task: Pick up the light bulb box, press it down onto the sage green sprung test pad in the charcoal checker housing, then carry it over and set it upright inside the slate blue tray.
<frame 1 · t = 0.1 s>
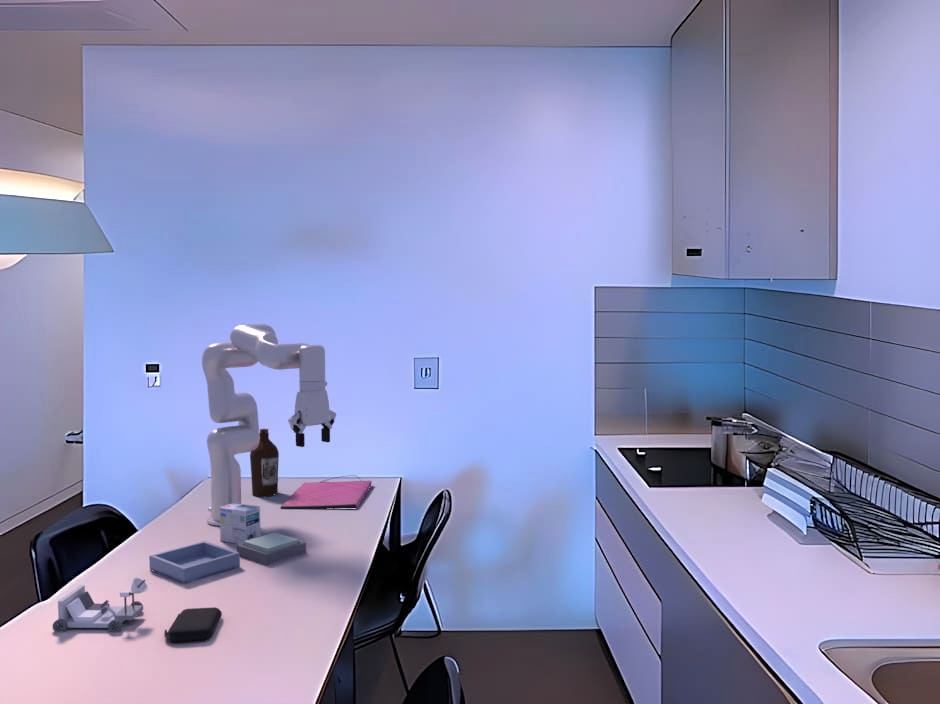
hand: (313, 444, 232), 31 cm above the table, tool pointing down, fingers open, 9 cm apart
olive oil: (265, 494, 299), on the table
carrying case or bag: (193, 632, 175), on the table
toy car: (105, 623, 180), on the table
test pad: (271, 542, 228), point 3 cm above the table, slide at 0.0 cm
laptop bag: (330, 497, 297), on the table
light bulb box: (240, 541, 241), on the table
checker housing: (271, 553, 228), on the table
tray: (195, 568, 215), on the table
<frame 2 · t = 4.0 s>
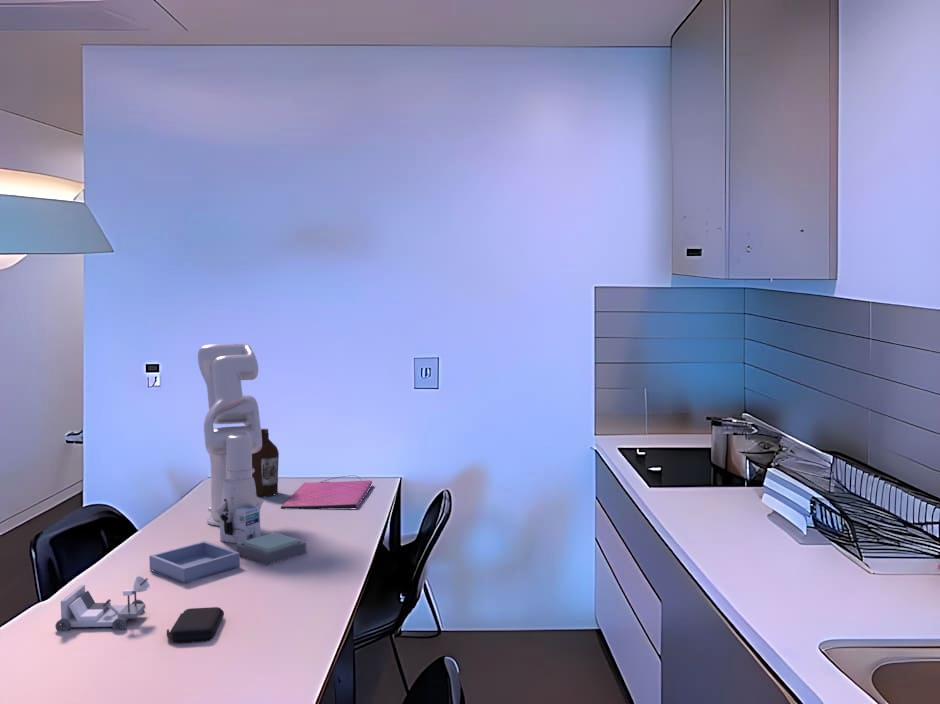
hand: (240, 530, 240), 3 cm above the table, tool pointing down, fingers closed on light bulb box, 7 cm apart
light bulb box: (240, 541, 240), on the table, touching gripper
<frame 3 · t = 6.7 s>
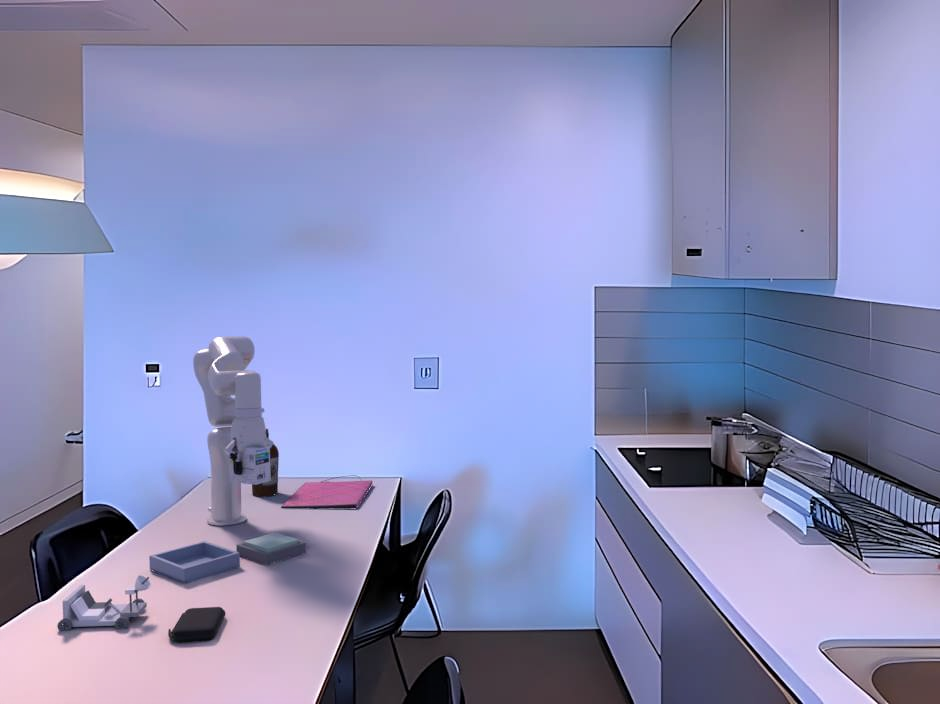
hand: (250, 471, 234), 22 cm above the table, tool pointing down, fingers closed on light bulb box, 7 cm apart
light bulb box: (250, 482, 234), point 19 cm above the table, touching gripper
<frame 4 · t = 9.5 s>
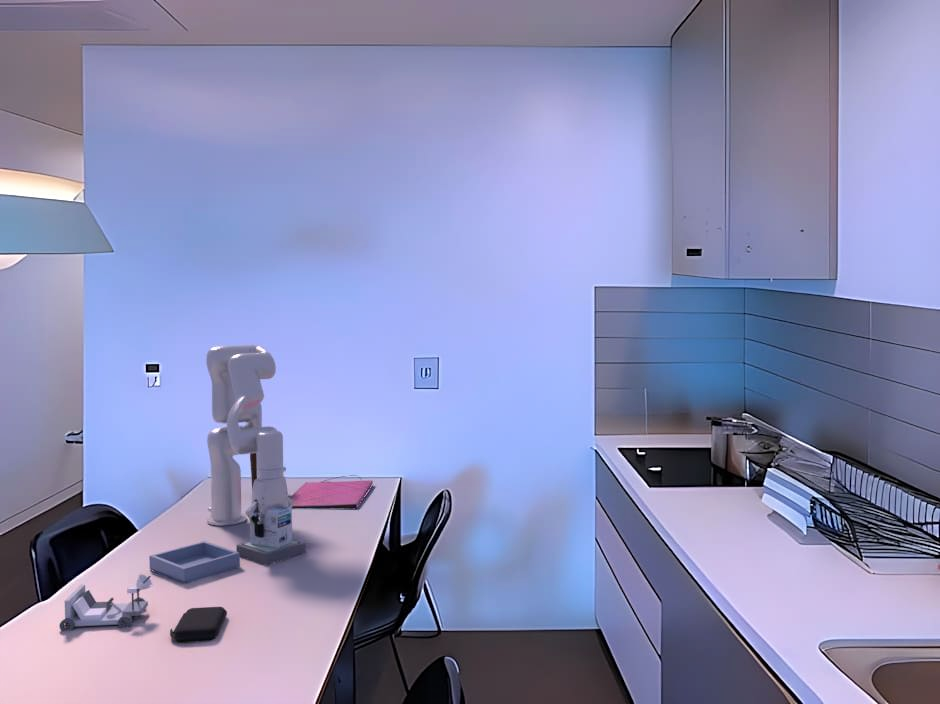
hand: (271, 533, 227), 6 cm above the table, tool pointing down, fingers closed on light bulb box, 7 cm apart
test pad: (271, 545, 228), point 2 cm above the table, slide at 0.9 cm, touching light bulb box
light bulb box: (271, 544, 227), point 3 cm above the table, touching gripper, test pad
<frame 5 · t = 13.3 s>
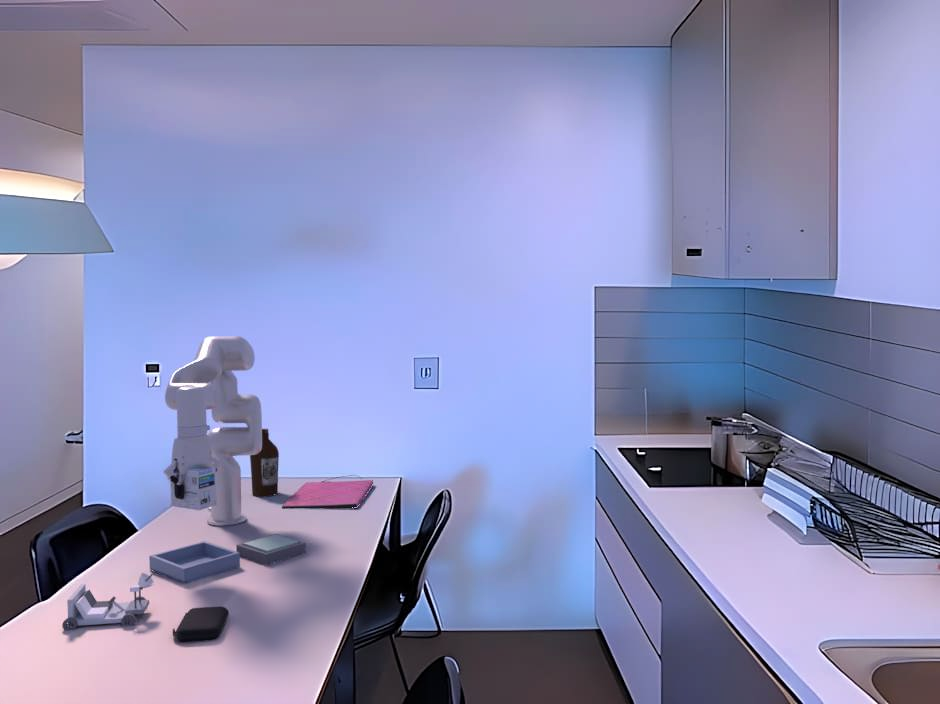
hand: (193, 495, 214), 20 cm above the table, tool pointing down, fingers closed on light bulb box, 7 cm apart
test pad: (271, 545, 228), point 3 cm above the table, slide at 0.6 cm
light bulb box: (193, 506, 214), point 17 cm above the table, touching gripper
when the fingers open (5 cm above the table, at t = 16.6 s): light bulb box drops 1 cm, resting on tray.
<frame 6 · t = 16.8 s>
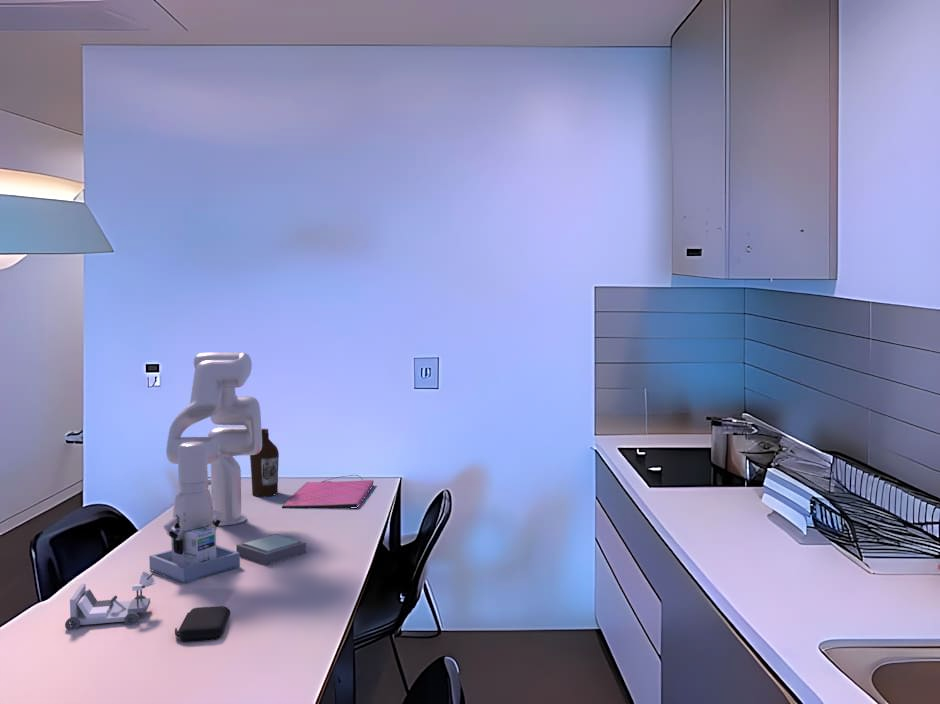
hand: (194, 549, 215), 5 cm above the table, tool pointing down, fingers open, 9 cm apart
light bulb box: (194, 567, 215), resting on tray
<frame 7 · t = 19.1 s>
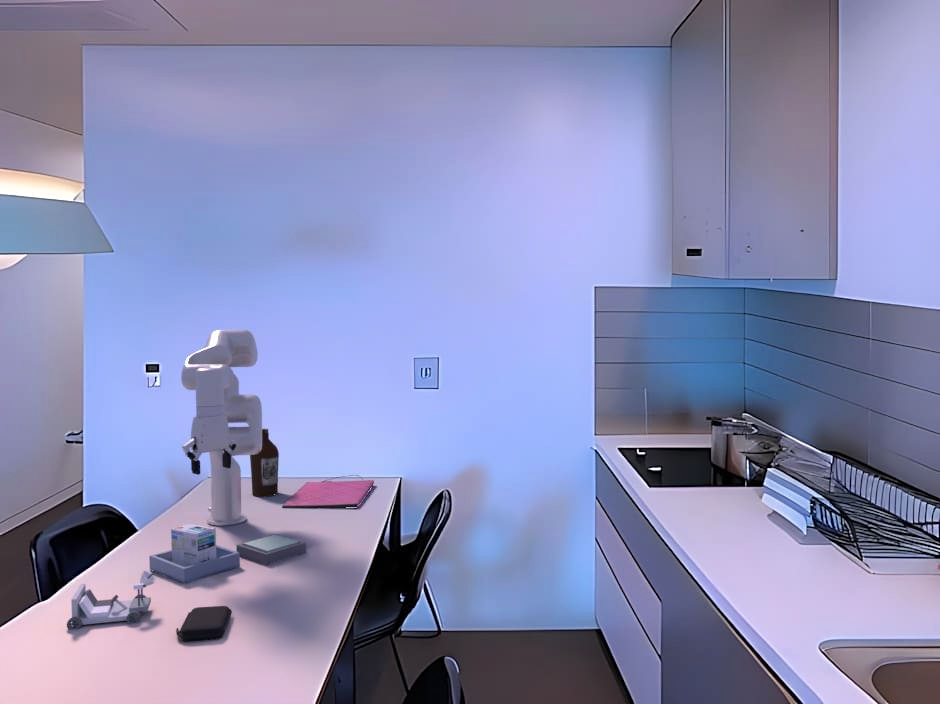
hand: (211, 470, 222), 25 cm above the table, tool pointing down, fingers open, 9 cm apart
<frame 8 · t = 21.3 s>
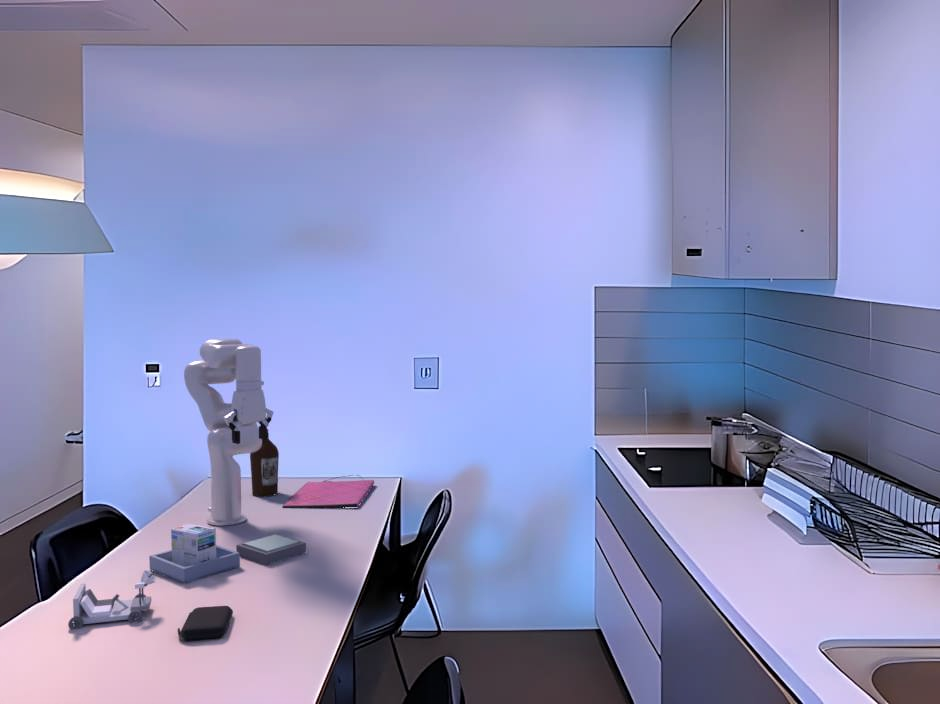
hand: (249, 441, 242), 30 cm above the table, tool pointing down, fingers open, 9 cm apart
at the end: light bulb box inside the target area on the tray (0.2 cm from its centre), point 0.4 cm above the tray's base; light bulb box tilted 0°; the gripper is holding nothing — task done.
